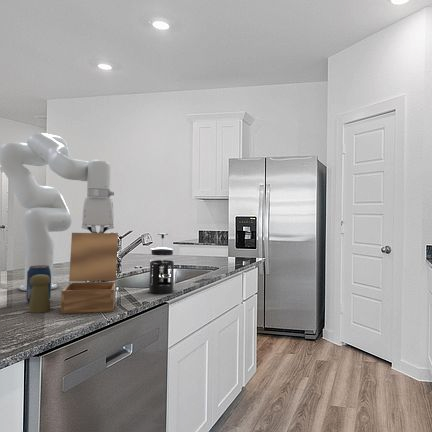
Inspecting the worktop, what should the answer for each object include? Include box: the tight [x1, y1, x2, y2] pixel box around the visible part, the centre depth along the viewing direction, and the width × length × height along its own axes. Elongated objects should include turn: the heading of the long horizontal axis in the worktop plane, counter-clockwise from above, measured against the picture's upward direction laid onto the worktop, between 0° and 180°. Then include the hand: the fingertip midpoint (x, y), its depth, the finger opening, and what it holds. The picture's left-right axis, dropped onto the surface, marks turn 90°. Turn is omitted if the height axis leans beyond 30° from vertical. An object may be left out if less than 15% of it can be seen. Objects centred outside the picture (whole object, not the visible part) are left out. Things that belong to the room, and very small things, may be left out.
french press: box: [148, 232, 175, 295], centre depth 167 cm, size 12×9×23 cm
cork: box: [27, 274, 52, 314], centre depth 132 cm, size 6×6×11 cm
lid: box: [68, 232, 119, 282], centre depth 147 cm, size 16×15×1 cm
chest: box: [60, 281, 117, 315], centre depth 138 cm, size 16×15×7 cm
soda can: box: [26, 265, 52, 304], centre depth 143 cm, size 7×7×12 cm
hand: (97, 245), depth 155 cm, fingers closed
